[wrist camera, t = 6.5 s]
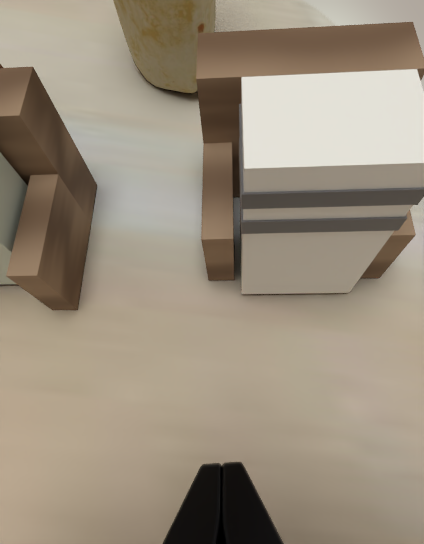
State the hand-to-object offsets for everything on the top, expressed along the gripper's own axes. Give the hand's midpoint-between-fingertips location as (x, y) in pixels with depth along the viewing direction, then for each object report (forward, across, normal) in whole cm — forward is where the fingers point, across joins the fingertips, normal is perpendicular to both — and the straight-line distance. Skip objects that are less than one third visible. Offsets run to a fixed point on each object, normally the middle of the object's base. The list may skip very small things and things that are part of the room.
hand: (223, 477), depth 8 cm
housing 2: (+18, -4, -1) cm, 19 cm away
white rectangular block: (+16, -4, +1) cm, 16 cm away
